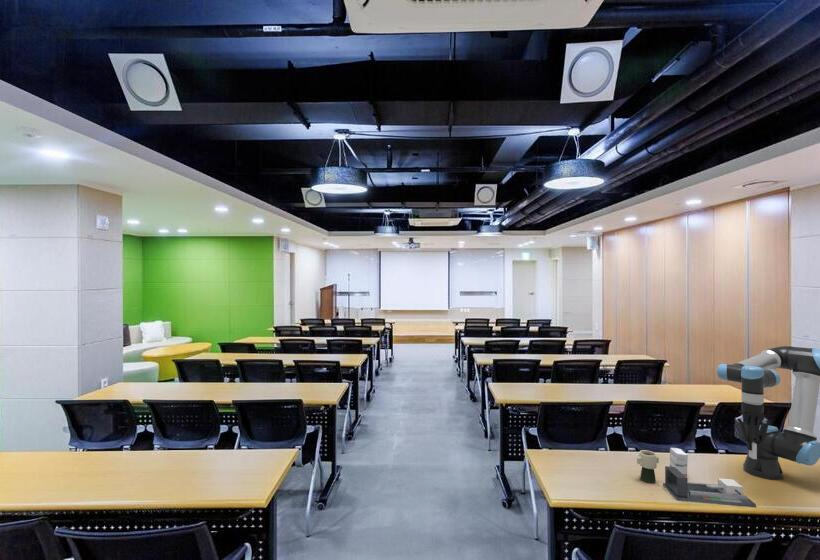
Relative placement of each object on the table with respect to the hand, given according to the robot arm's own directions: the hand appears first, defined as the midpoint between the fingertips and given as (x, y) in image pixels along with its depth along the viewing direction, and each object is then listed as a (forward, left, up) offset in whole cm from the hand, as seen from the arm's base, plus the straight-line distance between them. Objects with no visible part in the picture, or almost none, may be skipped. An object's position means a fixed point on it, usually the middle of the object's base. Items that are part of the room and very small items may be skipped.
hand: (752, 457), depth 181 cm
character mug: (+38, -11, -18) cm, 43 cm away
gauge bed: (+18, 0, -18) cm, 25 cm away
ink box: (+21, -20, -18) cm, 34 cm away
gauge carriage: (+12, +2, -16) cm, 20 cm away
